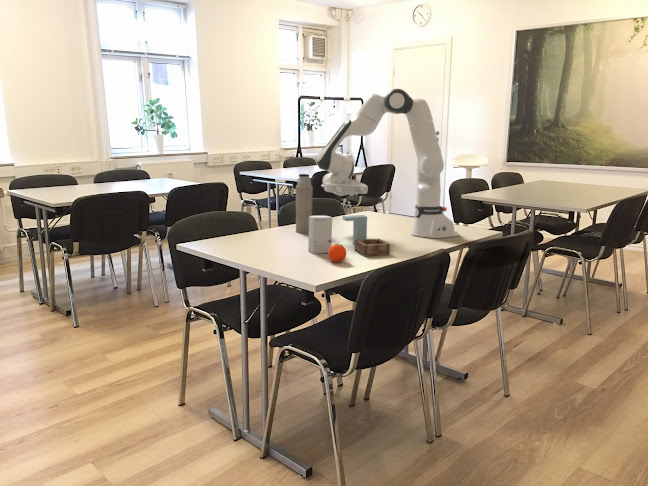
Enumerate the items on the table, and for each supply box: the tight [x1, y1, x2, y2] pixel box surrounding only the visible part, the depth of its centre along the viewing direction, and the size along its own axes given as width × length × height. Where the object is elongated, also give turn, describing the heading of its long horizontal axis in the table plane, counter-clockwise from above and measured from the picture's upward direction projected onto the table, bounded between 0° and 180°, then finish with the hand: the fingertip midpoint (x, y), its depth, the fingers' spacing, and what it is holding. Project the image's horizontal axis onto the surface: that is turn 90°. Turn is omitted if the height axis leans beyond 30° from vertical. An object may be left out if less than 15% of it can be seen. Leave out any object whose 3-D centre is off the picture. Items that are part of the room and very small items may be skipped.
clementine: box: [327, 243, 349, 263], centre depth 203 cm, size 8×7×7 cm
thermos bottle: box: [295, 173, 313, 234], centre depth 260 cm, size 8×8×28 cm
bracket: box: [342, 214, 368, 247], centre depth 231 cm, size 10×4×13 cm, turn 107°
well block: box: [354, 238, 391, 258], centre depth 219 cm, size 11×11×4 cm
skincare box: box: [307, 215, 333, 255], centre depth 219 cm, size 8×6×15 cm
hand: (352, 190), depth 239 cm, fingers open, 8 cm apart
